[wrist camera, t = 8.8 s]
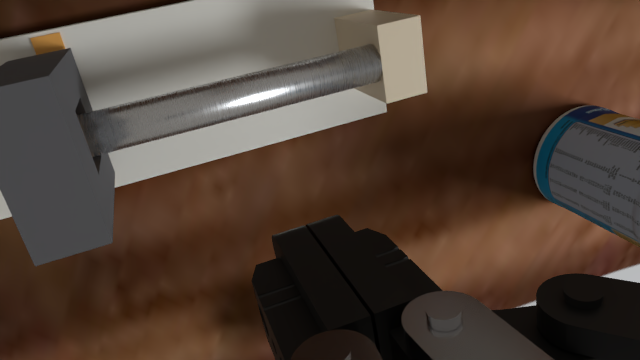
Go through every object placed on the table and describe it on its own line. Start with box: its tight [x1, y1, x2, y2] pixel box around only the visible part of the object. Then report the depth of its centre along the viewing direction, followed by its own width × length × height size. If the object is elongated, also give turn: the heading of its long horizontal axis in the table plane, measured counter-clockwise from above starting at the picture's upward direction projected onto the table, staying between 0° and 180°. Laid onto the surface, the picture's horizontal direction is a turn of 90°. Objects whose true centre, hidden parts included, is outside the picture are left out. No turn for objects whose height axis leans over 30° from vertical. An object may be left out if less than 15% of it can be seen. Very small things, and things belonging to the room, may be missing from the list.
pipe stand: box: [0, 0, 427, 219], centre depth 28 cm, size 26×9×7 cm, turn 101°
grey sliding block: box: [0, 48, 115, 266], centre depth 24 cm, size 3×7×9 cm, turn 11°
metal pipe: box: [77, 44, 382, 157], centre depth 25 cm, size 24×2×2 cm, turn 101°
